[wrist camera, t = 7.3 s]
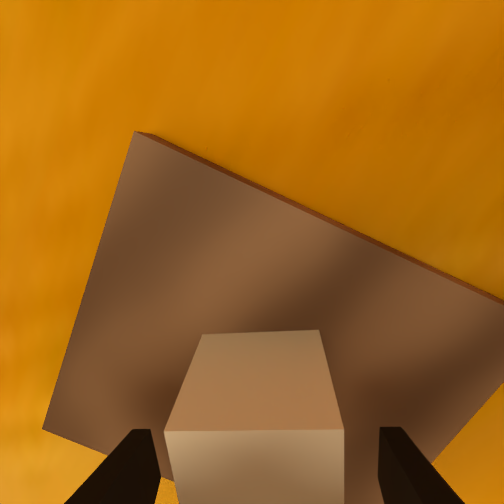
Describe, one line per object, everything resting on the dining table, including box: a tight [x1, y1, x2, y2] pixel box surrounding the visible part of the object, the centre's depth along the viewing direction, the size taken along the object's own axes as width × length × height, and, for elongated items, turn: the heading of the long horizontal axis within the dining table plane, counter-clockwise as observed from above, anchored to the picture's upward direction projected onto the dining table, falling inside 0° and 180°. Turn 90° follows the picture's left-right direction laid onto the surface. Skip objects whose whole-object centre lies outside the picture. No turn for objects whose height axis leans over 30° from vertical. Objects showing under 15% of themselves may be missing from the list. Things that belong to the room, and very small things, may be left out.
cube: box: [164, 330, 344, 504], centre depth 11 cm, size 4×4×4 cm
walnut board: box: [42, 131, 504, 504], centre depth 13 cm, size 16×14×2 cm
